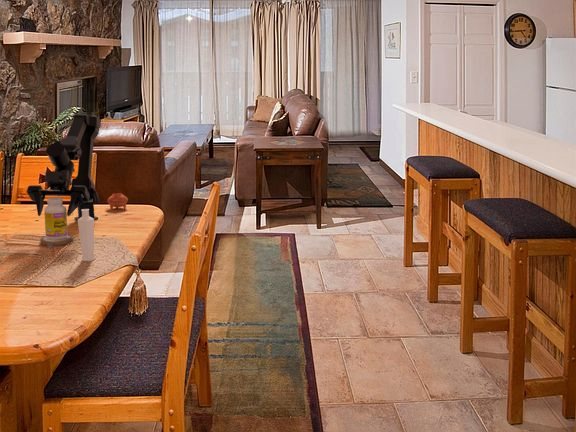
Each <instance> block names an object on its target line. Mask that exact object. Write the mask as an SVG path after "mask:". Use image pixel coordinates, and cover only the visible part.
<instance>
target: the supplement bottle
mask: <svg viewBox="0 0 576 432" xmlns="http://www.w3.org/2000/svg"><path fill="white" fill-rule="evenodd" d="M46 203H47V206H45V207H44V208H43V209H44V210H43V211H44V212H43V213H44V225H45V236H46V238H47V239H51V240H59V239H64V238H66V237H67V235H69V234H68V218H67V217H68V216H67V208H66V206H65V205H63V197H61V196H51V197H49V198H47V199H46Z"/></svg>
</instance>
